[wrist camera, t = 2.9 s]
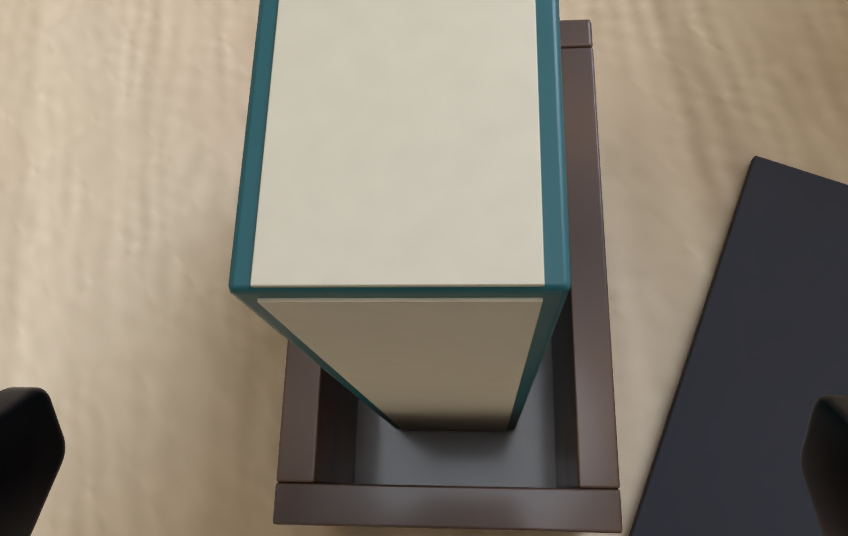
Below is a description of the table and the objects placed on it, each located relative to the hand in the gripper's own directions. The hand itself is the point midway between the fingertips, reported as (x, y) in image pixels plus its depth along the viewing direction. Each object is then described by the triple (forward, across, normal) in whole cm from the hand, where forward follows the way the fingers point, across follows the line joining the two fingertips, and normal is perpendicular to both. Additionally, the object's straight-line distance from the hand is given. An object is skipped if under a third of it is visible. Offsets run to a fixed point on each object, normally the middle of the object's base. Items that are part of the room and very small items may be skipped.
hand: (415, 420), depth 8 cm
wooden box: (+11, 0, +5) cm, 12 cm away
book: (+11, 0, +4) cm, 12 cm away
